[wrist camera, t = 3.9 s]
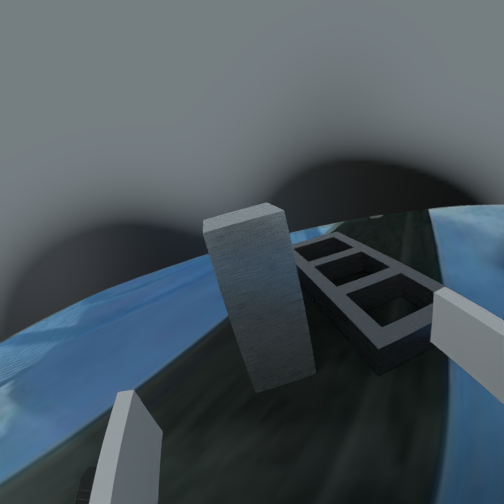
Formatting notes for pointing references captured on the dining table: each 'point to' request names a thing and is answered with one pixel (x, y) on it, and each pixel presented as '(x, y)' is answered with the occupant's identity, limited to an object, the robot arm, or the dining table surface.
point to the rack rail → (367, 297)
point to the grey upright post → (262, 293)
